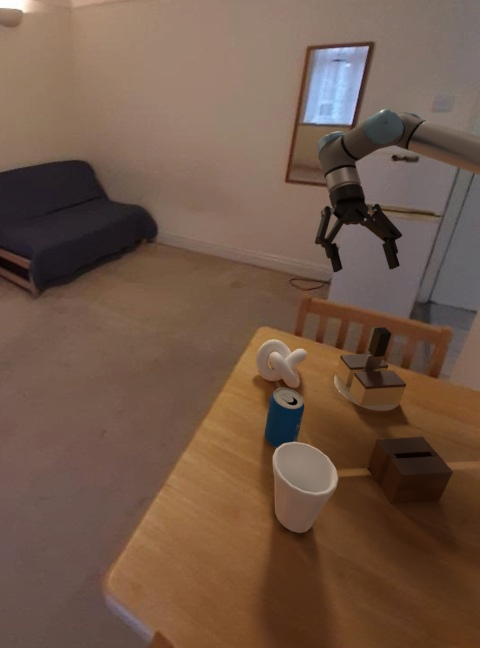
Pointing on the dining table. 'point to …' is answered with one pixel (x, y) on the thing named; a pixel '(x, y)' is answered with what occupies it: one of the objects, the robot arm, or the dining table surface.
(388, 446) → the knife block
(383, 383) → the cake
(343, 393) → the plate
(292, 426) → the beverage can
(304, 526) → the cup
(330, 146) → the robot arm
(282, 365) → the white knot sculpture
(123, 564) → the dining table surface
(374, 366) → the knife
